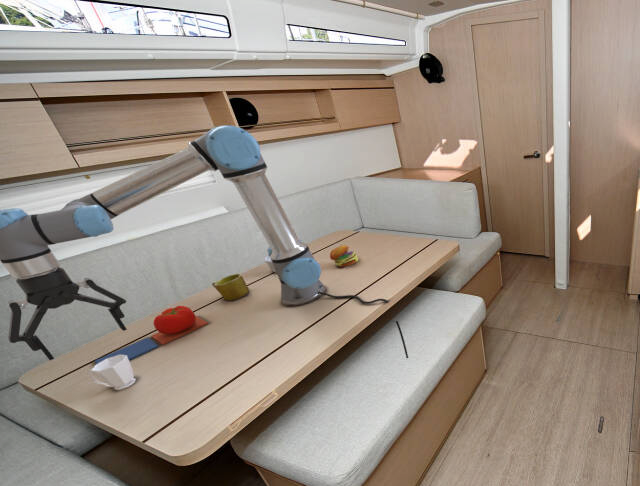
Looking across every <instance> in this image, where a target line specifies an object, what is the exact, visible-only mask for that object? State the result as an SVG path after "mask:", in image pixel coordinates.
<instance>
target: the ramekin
mask: <svg viewBox="0 0 640 486" xmlns="http://www.w3.org/2000/svg"><path fill="white" fill-rule="evenodd" d="M264 262H265V263H266V265H267V266H268V268H269V269H270V270H271V271H272V272H273V273H276V270H275V268H274V266H273V263H272V261H271V258H270V256H269V254H268V255H266V256H265V257H264ZM276 274H277V273H276Z"/></svg>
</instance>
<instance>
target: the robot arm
mask: <svg viewBox="0 0 640 486" xmlns="http://www.w3.org/2000/svg"><path fill="white" fill-rule="evenodd" d="M267 170H268V166H267V163H266V161H265V160H264V157H263V156H262V154H261V149H260V145H259V142H258V141H257V139H256V138H255V137H254V136H253V135H252V134H251V133H249V132H248V131H247V130H245V129H243V128H241V127H239V126H236V125H230V124H225V125H217V126H215V127H212V128H210V129H209V130H208V131H206V132H205V133H204V134H202V135H201V136H199V137H197V138H196V139H194V140H192V141H190V142H188V144H187V148H184V149H182V150H180V151H178V152H176V153H174V154H171V155H169V156H168V157H165V158H163V159H161V160H159V161H157V162H155V163H153V164H152V163H151V165H148V166H146V167H144V168H142V169H140V170H138V171H135V172H133V173H130V174H129V175H127V176H125V177H123V178H122V177H121V178H120V179H118V180H116V181H114V182H112V183H110V184H108V185H105V186H103V187H101V188H98V189H96V190H95V191H93V192H91V193H88V194H86V195H84V196H82V197H80V198H77V199H73V200H71V201H70V202H67V203H66V204H65V205H64V206H63V208H61V209H59V210H54V211H49V212H43V213H36V214H35V213H34V214H28V213H27V212H26V211H24V209H22V208H19V207H11V208H4V209H0V262H1V264H2V265H3V267H4V268H5V269H6V270H7V272H8V273H9V275H10V276H11V277H12V278H13V279H16V280H15V282H16V284H17V285H18V286H19V288H20V289H21V290H22V292H23V293H24V294H25V298H22V299H19V300H9V301H7V305H8V307H9V308H10V310H11V312H10V319H9V320H10V321H9V327H8V329H9V330H8V336H7V338H8V341H9V342H10V343H11V344H17V343H18V342H19V343H20V342H24V343H26V345H27V346H28V347H29V348H30V349H31V351H33V352H37V351H40V350H41V351H42V352H43V354H44V356H45V357H46V358H47V359H48V360H49V361H52V360H54V359H55V357H54V355H53V354H52V353H51V352H50V351H49V349H48V348H47V347H46V346H45V345H44V343H43V342H42V340H41V339H40V338H39V336H38V335H36V331H37V329H38V327H39V325H41V322H42V320H43V318H44V316H45V315H46V313H47V311H48V309H50V310H51V309H52V310H55V309H59V308H60V307H62V306H65V305H70V304H73V302H74V301H77V302H78V301H80V302H84V303H88V304H93V305H95V306H100V307H105V308H107V310H108V312H109V314H110V315H111V317H112V318H113V319H114V321H115V323H116V324H117V326H118V327H119V329H121V331H123V332H125V331H128V329H127V328H126V327H127V326H125V324H124V323H123V321H122V319H123V318H125V314H124V312H123V311H122V309H121V306H122V305H125V304H126V303H127V300H126V299H125V298H123V297H122V296H120V295H118V294H116V293H114V292H111V291H110V290H108V289H105V288H104V287H102V286H99V285H98V284H97V283H96V282H95V281H94V280H93V279H91V278H90V277H85V278H83V280H81V281H79V282H74V281H73V280H72V279H71V277H70V276H69V275H68V273H67V272H66V270H65V269H64V268H63V267H61V265H62V264H61V262H59V260H58V259H57V257H56V255H55V254H54V253H53V251H52V249H51V248H50V247H49V246H52V245H56V244H62V243H66V242H67V243H68V242H73V241H76V240H82V239H87V238H93V237H94V238H96V237H99V236H102V235H105V234H109V233H112V232H114V224H113V222H112V219H115V218H116V217H118V216H120V215H122V214H124V213H126V212H128V211H130V210H132V209H134V208H136V207H138V206H140V205H142V204H144V203H146V202H148V201H150V200H152V199H154V198H156V197H159V196H160V195H162V194H164V193H166V192H168V191H170V190H171V189H174V188H176V187H178V186H180V185H182V184H184V183H186V182H188V181H190V180H192V179H195V178H196V177H198V176H200V175H202V174H204V173H206V172H208V171H211V172H217V171H219V172H220V174H221V176H222V178H223V179H224V180H226V181H228V182H231V183H233V185H234V186H235V188H236V191H238V193H239V195H240V197H241V199H242V200H243V202H244V204H245V206H246V207H247V209H248V211H249V212H250V214H251V216H252V218H253V220H254V221H255V223H256V225H257V227H258V228H259V230H260V232H261V233H262V235H263V237H264V239H265V240H266V243H267V244H268V247H267V254H268V255H269V256H270V258H271V261H272V263H273V266H274V268H275V270H276V275H277V277H278V280H279V283H280V300H281V302H282V304H283V305H284V306H288V307H289V306H290V307H294V306H302V305H306V304H308V303H310V302H313V301H316V300H317V299H319V298H321V297H322V296H327V297H329V298H333V299H346V298H355V299H357V300H358V301H359V302H360V303H362V304H366V305H368V304H373V303H377V302H384V303H389V301H388V300H387V299H385V298H377V299H374V300H370V301H365V300H363V299H362V298H361V297H359V296H357V295H355V294H347V295H332V294H329V293H326V288H325V285H324V283H322V281H321V280H320V278H321V275H322V269H321V265H320V263H319V262H318V261H317V260H316V259H315V257H314V254H312V251H311V249H310V248H309V245H308V243H306V242H304V241H303V240H301V239H299V237H298V235H297V233H296V231H295V230H294V227H293V225H292V223H291V222H290V220H289V218H288V216H287V214H286V212H285V210H284V208H283V205H282V204H281V202H280V200H279V198H278V196H277V194H276V193H275V191H274V189H273V187H272V185H271V183H270V181H269V179H268V177H267V175H266V172H267ZM81 287H82V288H84V289H92V290H93V291H95V292H97V293H99V294H101V295H103V296H105V297H107V298H109V299H110V300H113V302H112V301H109V300H104V299H101V298H97V297H93V296H89V295H85V294H83V293H79V290H80V288H81ZM27 304H30V305H34V306H35V309H34V312H33V314H32V316H31V318H30V320H29V322H28V323H27V325H26V327H25V329H24V331H23V333H22V334H20V332H21V331H20V330H21V322H22V321H21V320H22V310H24V309H25V308H26V305H27ZM395 324H396V326H397V329H398V331H399V335H400V338H401V342H402V345H403V346H402V347H403V349H404V354H405V359H407V358H409V354H408V351H407V346H406V343H405V338H404V334H403V332H402V329H401V326H400V323H399V321H398V320H396V321H395Z"/></svg>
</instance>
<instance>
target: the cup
mask: <svg viewBox="0 0 640 486" xmlns="http://www.w3.org/2000/svg"><path fill="white" fill-rule="evenodd" d="M93 374H94V375H96V376H97V377H98V378H99V379H101V380H102V381H100V380H97V379H96V378H95V377H94V376H93ZM87 377H88V378H89V380H90V381H91V382H92V383H93V384H95V385H99V386H102V387H108V388H113V389H114V390H117V391H121V390H124V389H126V388H129V387H130V386H132V385H133V384H135V382H136V381H137V380H136V378H134V377H135V374H134V370H133V367H132V364H131V362H130V360H129V359H128V357H127V355H117V356H114V357H110V358H107V359H105V360H103V361H102V362H100V363H98V364H96V363H95V364H94V366H93V367H92V368H91V369H89V370H88V372H87Z"/></svg>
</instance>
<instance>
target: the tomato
mask: <svg viewBox="0 0 640 486" xmlns="http://www.w3.org/2000/svg"><path fill="white" fill-rule="evenodd" d="M196 316H197V315H196V314H195V312H194V311H193V310H192V309H191V308H190V307H188V306H186V305H185V306H184V305H177V306H174V307H170V308H167V309H165V310H163V311H162V312H161V314H158V315H157V316H155V317H154V319H153V326H154V328H155V330H156V331H157V333H159V332H160V333H163V334H167V333H168V334H173V333H179V332H181V331H183V330H184V329H188V328H189V327H191V326H192V325H193V324H194V322H195V320H196Z"/></svg>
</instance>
